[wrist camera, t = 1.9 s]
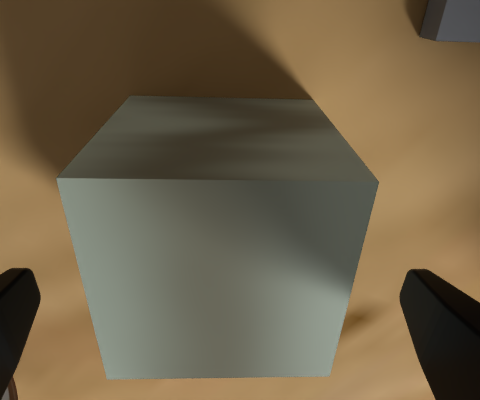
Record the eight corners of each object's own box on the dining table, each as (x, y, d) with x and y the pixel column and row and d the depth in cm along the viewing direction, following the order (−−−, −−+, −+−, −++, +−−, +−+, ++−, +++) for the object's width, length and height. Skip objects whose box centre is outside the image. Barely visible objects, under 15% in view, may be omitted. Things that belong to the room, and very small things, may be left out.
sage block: (312, 99, 12) (379, 182, 7) (293, 243, 15) (329, 376, 10) (130, 94, 12) (56, 178, 7) (148, 242, 15) (106, 379, 10)
